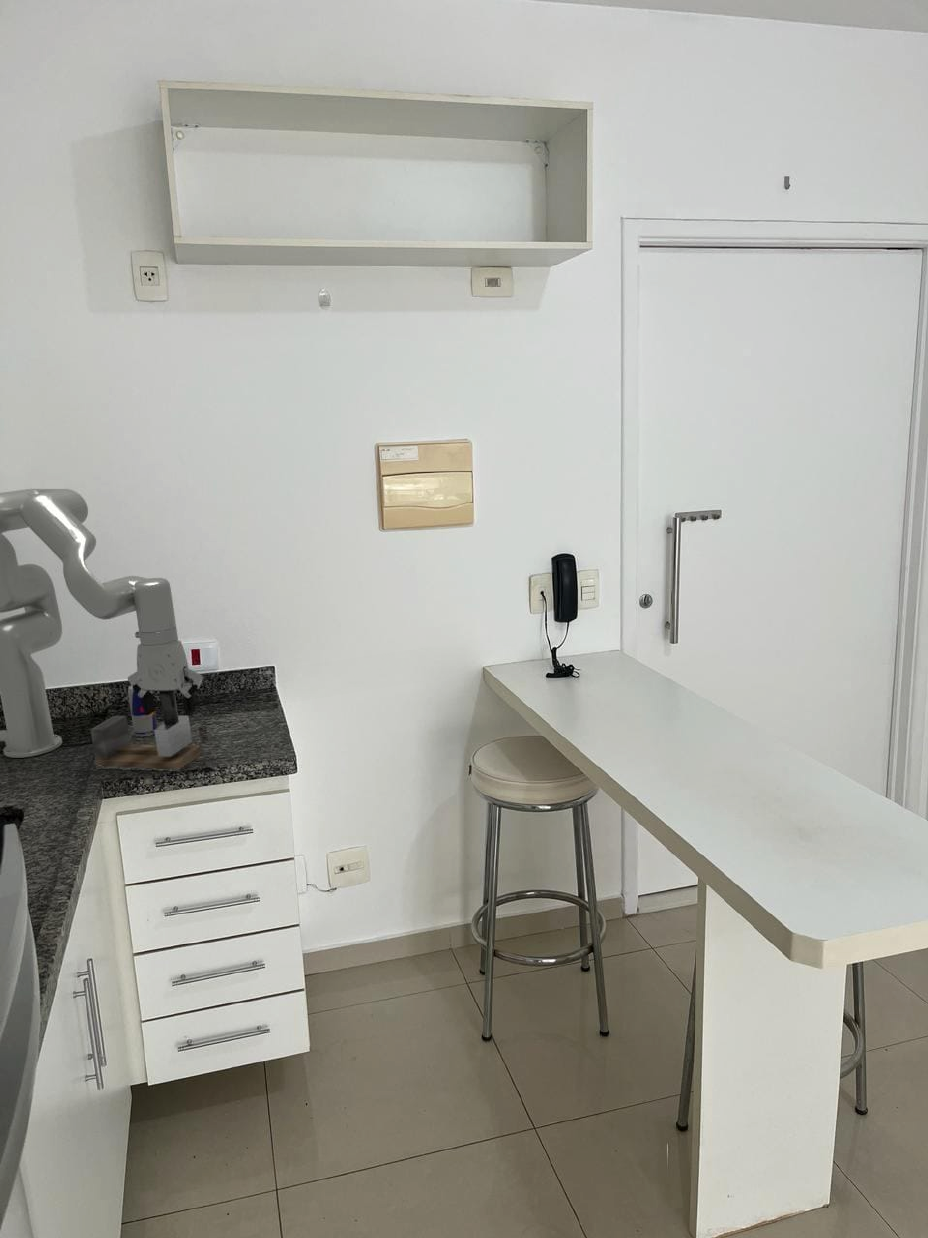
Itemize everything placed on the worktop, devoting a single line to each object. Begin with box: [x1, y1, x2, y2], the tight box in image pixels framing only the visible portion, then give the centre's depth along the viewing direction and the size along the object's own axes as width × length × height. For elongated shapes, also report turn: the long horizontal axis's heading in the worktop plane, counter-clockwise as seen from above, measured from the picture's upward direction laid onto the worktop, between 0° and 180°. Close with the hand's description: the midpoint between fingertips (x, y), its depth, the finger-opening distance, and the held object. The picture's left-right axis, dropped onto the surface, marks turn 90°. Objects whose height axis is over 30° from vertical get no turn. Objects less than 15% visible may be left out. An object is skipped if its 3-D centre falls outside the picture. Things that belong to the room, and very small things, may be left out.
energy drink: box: [127, 684, 158, 737], centre depth 224 cm, size 5×5×12 cm
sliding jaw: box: [154, 691, 193, 757], centre depth 203 cm, size 3×9×14 cm, turn 167°
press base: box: [90, 715, 202, 770], centre depth 206 cm, size 20×10×9 cm, turn 77°
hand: (170, 713), depth 203 cm, fingers open, 9 cm apart
